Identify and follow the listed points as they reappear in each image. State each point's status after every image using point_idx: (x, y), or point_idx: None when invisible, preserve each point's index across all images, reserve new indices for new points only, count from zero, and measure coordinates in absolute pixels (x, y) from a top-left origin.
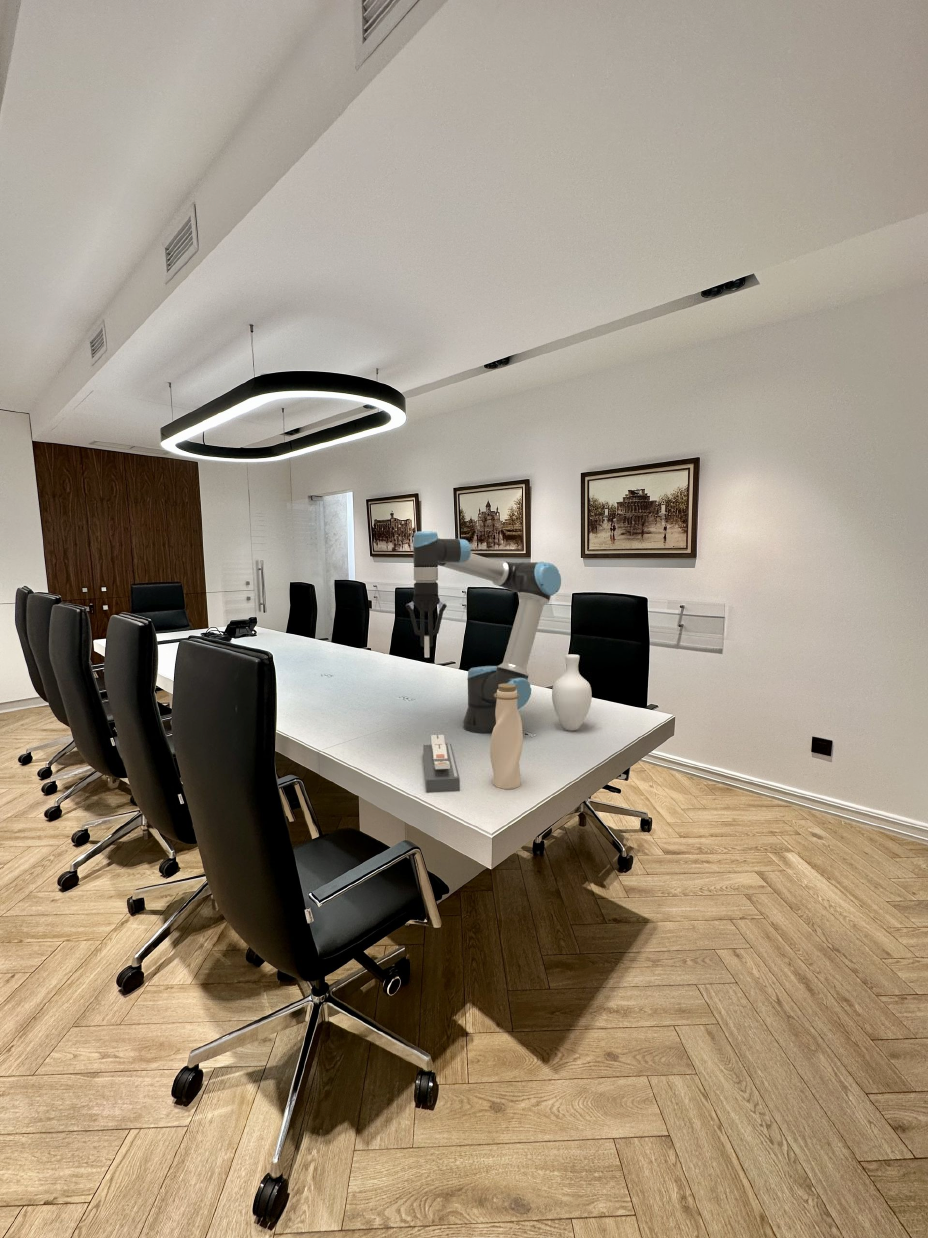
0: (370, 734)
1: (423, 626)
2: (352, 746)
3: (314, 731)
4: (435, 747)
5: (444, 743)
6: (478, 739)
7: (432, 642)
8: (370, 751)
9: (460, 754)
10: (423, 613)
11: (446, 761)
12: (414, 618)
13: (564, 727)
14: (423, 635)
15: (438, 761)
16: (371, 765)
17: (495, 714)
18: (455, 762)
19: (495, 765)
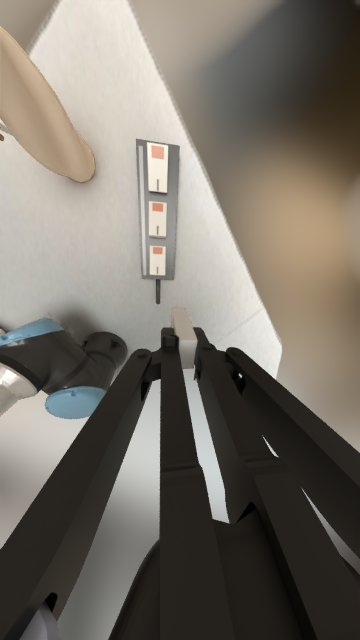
0: (216, 341)
1: (214, 376)
2: (236, 313)
3: (261, 352)
4: (162, 229)
5: (150, 255)
6: (111, 315)
7: (162, 334)
8: (222, 297)
9: (133, 274)
10: (260, 473)
11: (150, 183)
12: (297, 420)
13: (3, 331)
14: (202, 345)
15: (161, 191)
16: (225, 258)
17: (17, 80)
18: (139, 207)
19: (79, 138)
